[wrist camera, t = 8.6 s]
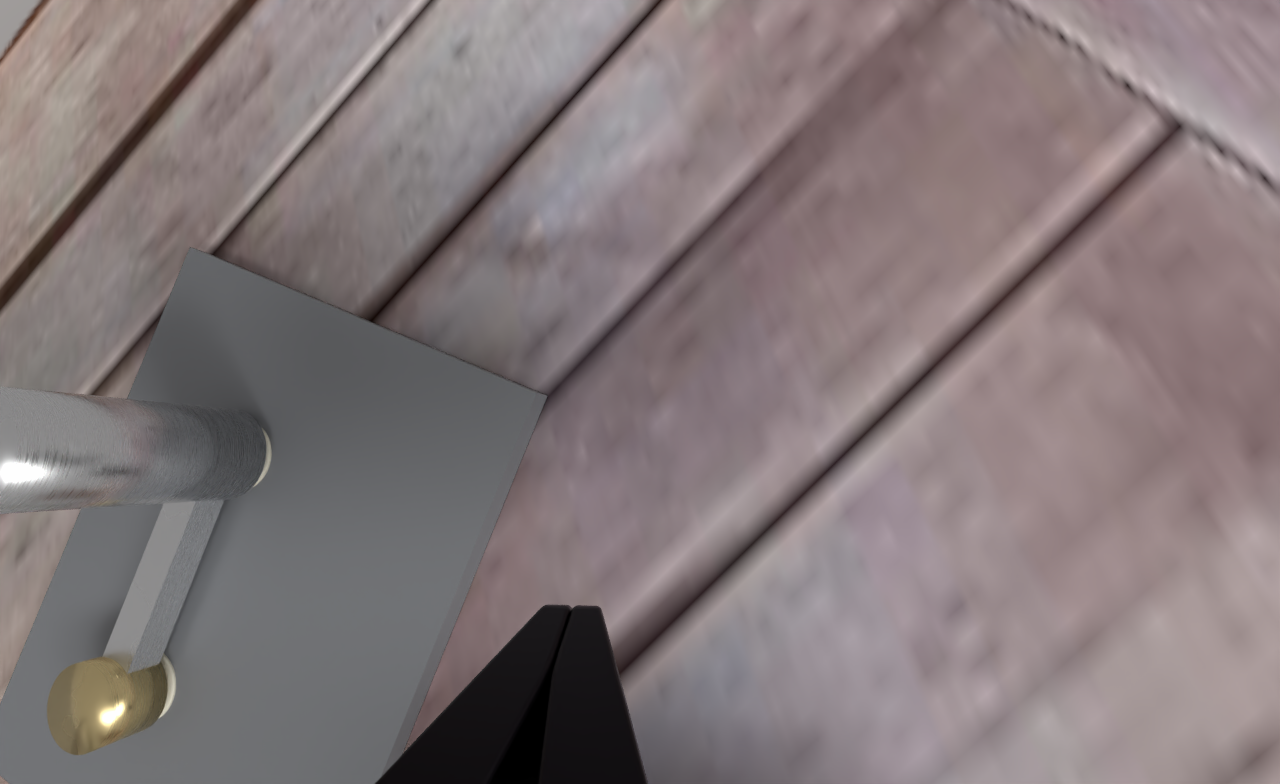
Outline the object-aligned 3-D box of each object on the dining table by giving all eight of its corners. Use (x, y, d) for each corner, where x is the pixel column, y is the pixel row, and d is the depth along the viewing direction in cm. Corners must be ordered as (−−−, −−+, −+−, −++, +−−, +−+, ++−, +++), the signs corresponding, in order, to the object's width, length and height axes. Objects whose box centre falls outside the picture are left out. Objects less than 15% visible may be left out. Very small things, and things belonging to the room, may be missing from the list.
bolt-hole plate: (304, 995, 23) (278, 1023, 21) (7, 746, 27) (-27, 758, 26) (547, 395, 23) (534, 392, 22) (210, 254, 28) (186, 245, 27)
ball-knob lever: (152, 749, 24) (-158, 887, 16) (91, 705, 25) (-228, 814, 17) (279, 428, 24) (35, 411, 16) (214, 396, 25) (-46, 366, 17)
